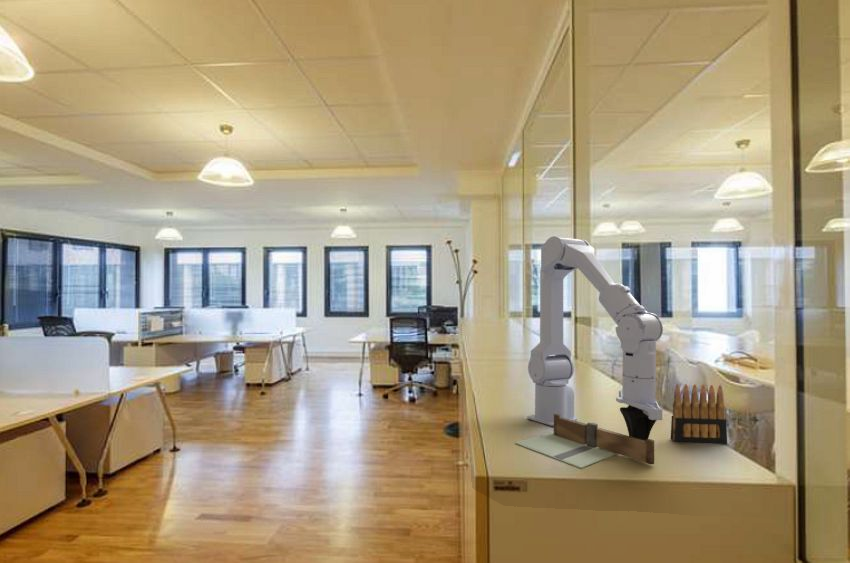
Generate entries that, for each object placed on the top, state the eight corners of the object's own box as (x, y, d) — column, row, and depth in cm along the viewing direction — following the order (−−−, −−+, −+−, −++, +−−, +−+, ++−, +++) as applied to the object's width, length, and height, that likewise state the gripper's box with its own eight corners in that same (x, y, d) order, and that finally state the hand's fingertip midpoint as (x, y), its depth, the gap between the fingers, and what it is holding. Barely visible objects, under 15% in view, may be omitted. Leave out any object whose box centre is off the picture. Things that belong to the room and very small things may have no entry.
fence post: (557, 433, 93) (557, 412, 93) (599, 447, 85) (599, 424, 85) (551, 435, 92) (551, 414, 92) (593, 449, 84) (594, 426, 84)
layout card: (561, 430, 96) (561, 428, 96) (626, 450, 84) (626, 449, 84) (515, 443, 87) (515, 442, 87) (581, 468, 75) (581, 467, 75)
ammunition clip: (721, 441, 91) (721, 384, 91) (727, 444, 89) (727, 386, 89) (670, 439, 91) (670, 382, 91) (675, 442, 89) (675, 384, 90)
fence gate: (596, 447, 84) (596, 426, 84) (600, 445, 85) (600, 425, 85) (652, 465, 75) (652, 442, 76) (655, 463, 76) (655, 440, 76)
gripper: (604, 368, 89) (603, 434, 89) (633, 383, 75) (632, 461, 75) (638, 369, 89) (638, 435, 89) (674, 384, 75) (674, 463, 74)
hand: (638, 447), depth 82 cm, fingers closed
